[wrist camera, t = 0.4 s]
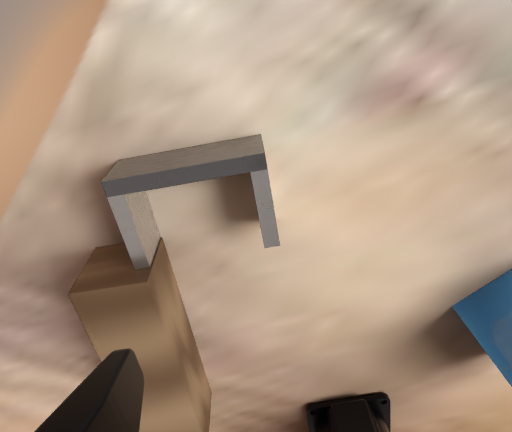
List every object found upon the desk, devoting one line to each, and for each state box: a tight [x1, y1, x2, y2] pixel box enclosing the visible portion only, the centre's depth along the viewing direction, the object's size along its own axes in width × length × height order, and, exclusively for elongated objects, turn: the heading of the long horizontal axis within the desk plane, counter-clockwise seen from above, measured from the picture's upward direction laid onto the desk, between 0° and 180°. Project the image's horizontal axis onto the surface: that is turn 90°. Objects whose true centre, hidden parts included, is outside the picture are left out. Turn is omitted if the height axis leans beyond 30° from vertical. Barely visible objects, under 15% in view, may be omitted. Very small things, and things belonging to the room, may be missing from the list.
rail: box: [68, 237, 211, 432], centre depth 24 cm, size 14×4×4 cm, turn 9°
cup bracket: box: [101, 134, 280, 270], centre depth 20 cm, size 5×8×3 cm, turn 100°
